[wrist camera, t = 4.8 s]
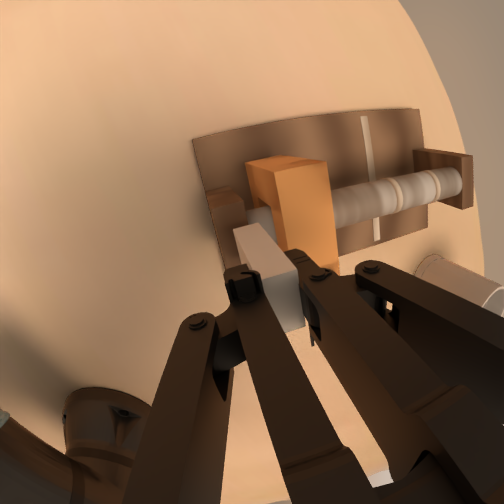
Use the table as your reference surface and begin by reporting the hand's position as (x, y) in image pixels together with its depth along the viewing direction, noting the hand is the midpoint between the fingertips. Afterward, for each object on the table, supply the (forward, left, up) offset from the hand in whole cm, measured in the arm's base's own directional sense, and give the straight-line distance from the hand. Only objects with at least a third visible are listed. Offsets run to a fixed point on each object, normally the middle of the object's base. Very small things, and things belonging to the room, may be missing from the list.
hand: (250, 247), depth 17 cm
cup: (+24, -15, -10) cm, 30 cm away
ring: (+3, 0, -7) cm, 8 cm away
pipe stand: (+10, 0, -10) cm, 14 cm away
